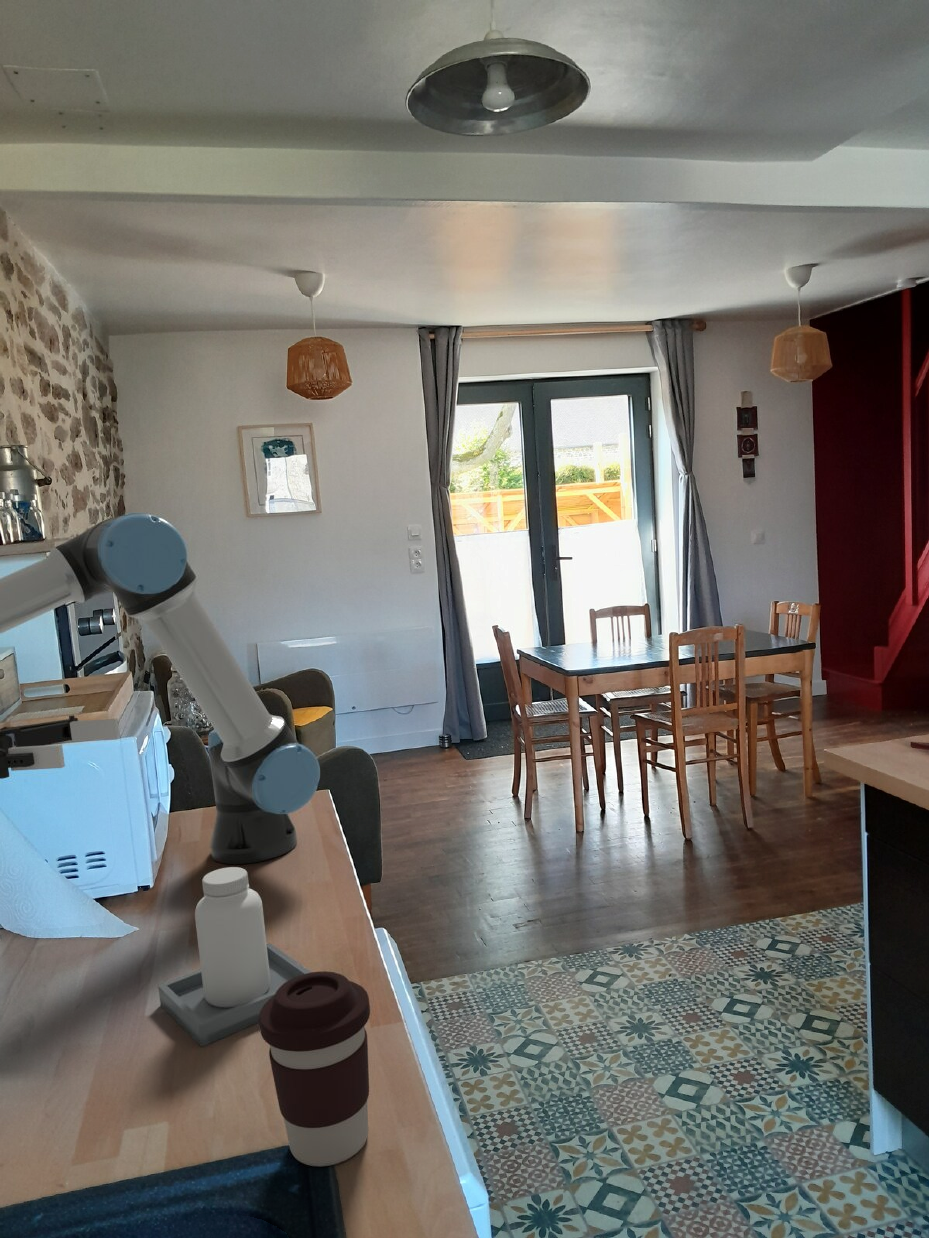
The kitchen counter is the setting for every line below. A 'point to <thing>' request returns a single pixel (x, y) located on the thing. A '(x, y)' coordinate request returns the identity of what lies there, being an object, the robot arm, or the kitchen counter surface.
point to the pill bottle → (231, 939)
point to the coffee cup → (320, 1064)
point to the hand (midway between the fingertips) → (91, 741)
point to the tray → (217, 1022)
